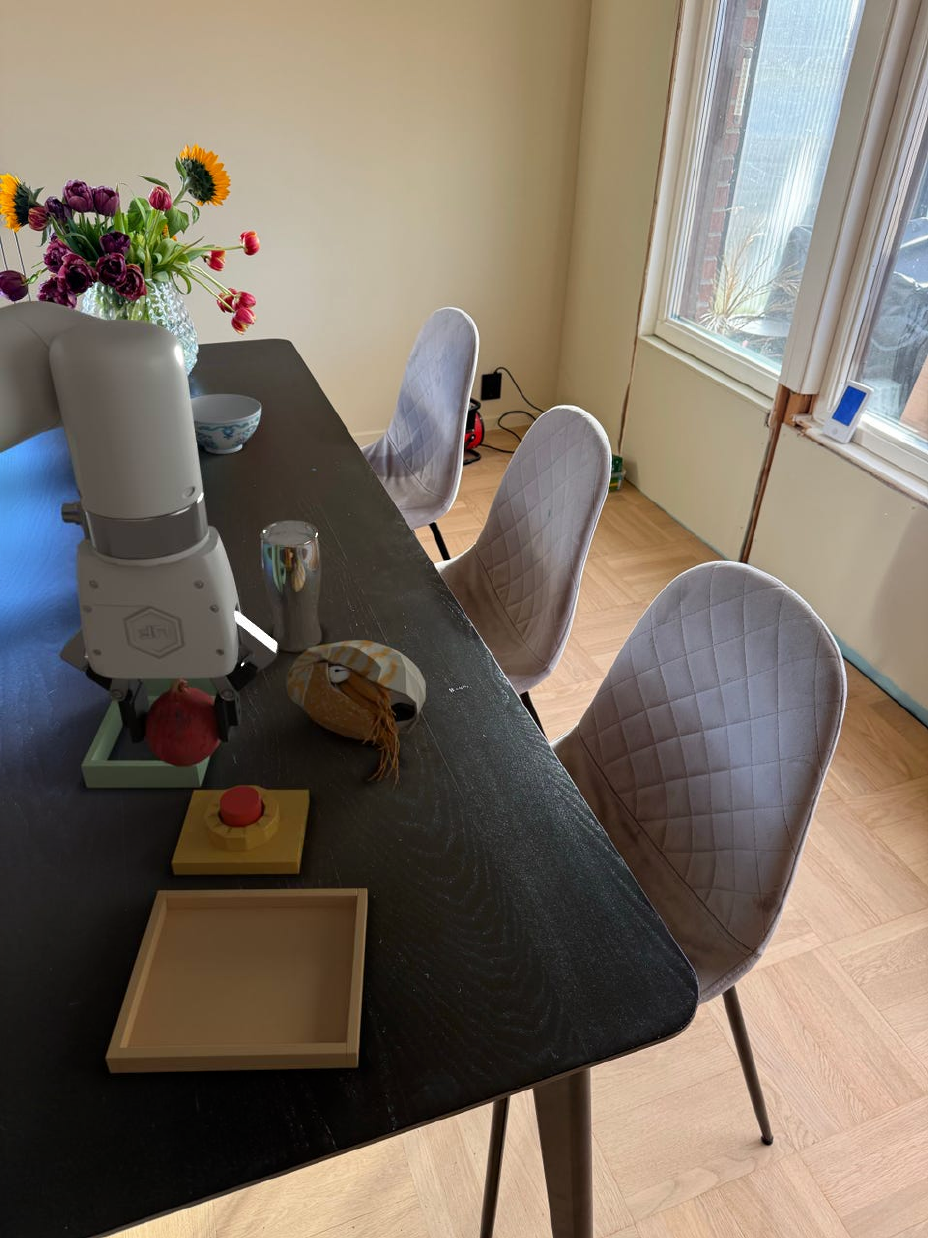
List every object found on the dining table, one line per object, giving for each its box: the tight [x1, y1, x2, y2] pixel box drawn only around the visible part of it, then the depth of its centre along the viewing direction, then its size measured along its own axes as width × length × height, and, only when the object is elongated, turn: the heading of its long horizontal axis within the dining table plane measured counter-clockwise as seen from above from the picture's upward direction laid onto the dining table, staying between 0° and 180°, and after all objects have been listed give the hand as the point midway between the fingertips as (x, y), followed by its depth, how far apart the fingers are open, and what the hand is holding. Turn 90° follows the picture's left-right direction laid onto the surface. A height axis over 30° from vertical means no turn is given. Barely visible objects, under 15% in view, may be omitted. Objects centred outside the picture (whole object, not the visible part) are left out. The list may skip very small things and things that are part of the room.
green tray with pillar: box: [80, 678, 217, 789], centre depth 88 cm, size 11×18×15 cm, turn 3°
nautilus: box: [285, 639, 427, 790], centre depth 91 cm, size 8×22×15 cm
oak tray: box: [105, 888, 368, 1074], centre depth 67 cm, size 18×15×2 cm
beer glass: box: [260, 520, 323, 653], centre depth 104 cm, size 7×7×15 cm
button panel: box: [171, 785, 310, 876], centre depth 79 cm, size 11×9×4 cm
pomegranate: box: [145, 679, 222, 767], centre depth 66 cm, size 6×6×8 cm
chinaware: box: [190, 393, 262, 455], centre depth 157 cm, size 15×15×8 cm
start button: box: [220, 785, 262, 828], centre depth 78 cm, size 4×4×2 cm
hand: (185, 729), depth 66 cm, fingers closed on pomegranate, 5 cm apart
